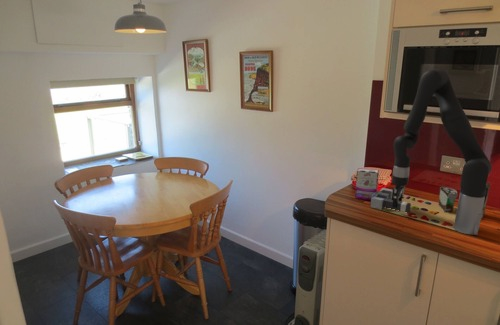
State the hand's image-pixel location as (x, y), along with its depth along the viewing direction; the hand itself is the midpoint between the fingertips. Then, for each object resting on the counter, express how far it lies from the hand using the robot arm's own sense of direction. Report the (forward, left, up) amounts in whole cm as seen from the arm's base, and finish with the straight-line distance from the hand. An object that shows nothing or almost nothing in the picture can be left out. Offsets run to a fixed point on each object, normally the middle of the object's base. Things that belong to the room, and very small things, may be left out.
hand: (396, 204), depth 172 cm
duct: (+10, -4, -2) cm, 11 cm away
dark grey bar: (+2, 0, -2) cm, 3 cm away
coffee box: (-33, -16, -3) cm, 37 cm away
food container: (-21, -16, -3) cm, 27 cm away
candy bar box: (+18, -5, -3) cm, 19 cm away
